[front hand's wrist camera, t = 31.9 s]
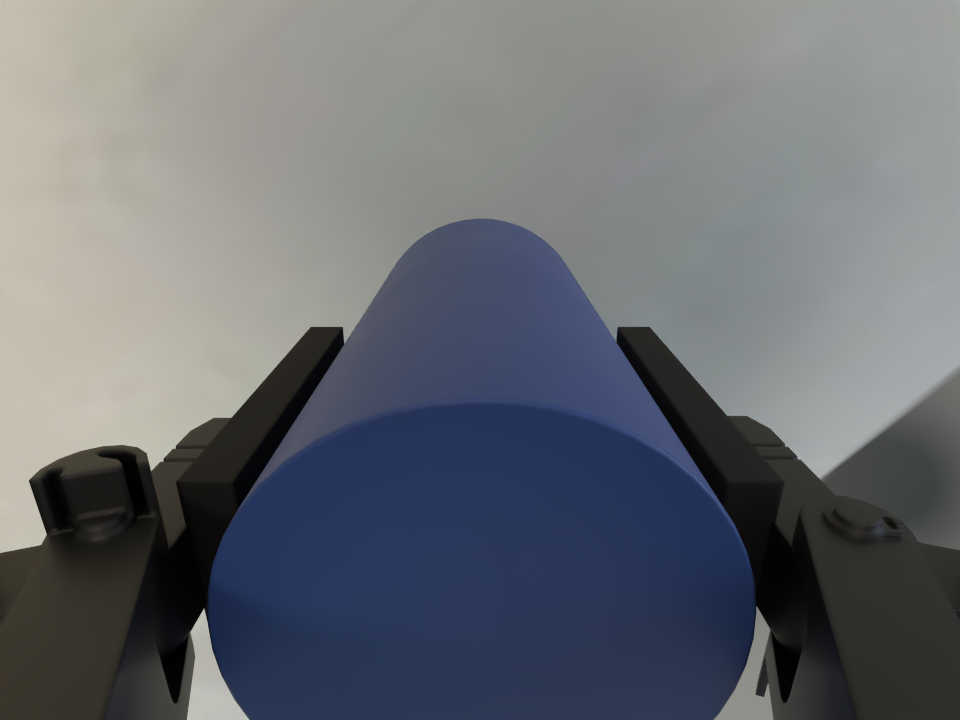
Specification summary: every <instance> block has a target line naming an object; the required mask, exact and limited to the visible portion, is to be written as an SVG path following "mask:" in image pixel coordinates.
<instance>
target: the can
mask: <svg viewBox="0 0 960 720" xmlns="http://www.w3.org/2000/svg"><path fill="white" fill-rule="evenodd" d="M755 619H756V599H755V584H754V578H753V574H752V570H751V566H750V562H749V558H748V554H747V551H746V549H745V547H744V544H743V542H742V540H741V538H740V535H739V533H738V531H737V529H736V526H735V524H734V523H733V521H732V520H731V518H730V517H729V515H728V514H727V512H726V510H725V509H724V507H723V506H722V504H721V503H720V501H719V500H718V498H717V497H716V495H715V494H714V492H713V490H712V489H711V487H710V486H709V484H708V483H707V481H706V480H705V478H704V477H703V475H702V473H701V472H700V470H699V469H698V467H697V466H696V464H695V463H694V461H693V460H692V458H691V457H690V455H689V453H688V452H687V450H686V449H685V447H684V446H683V444H682V443H681V441H680V440H679V438H678V437H677V435H676V433H675V432H674V430H673V429H672V427H671V426H670V424H669V423H668V421H667V420H666V418H665V416H664V415H663V413H662V412H661V410H660V409H659V407H658V406H657V404H656V403H655V401H654V400H653V398H652V396H651V395H650V393H649V392H648V390H647V389H646V387H645V386H644V384H643V383H642V381H641V380H640V378H639V376H638V375H637V373H636V372H635V370H634V369H633V367H632V366H631V364H630V363H629V361H628V360H627V358H626V356H625V355H624V353H623V352H622V350H621V349H620V347H619V346H618V344H617V343H616V341H615V339H614V338H613V336H612V335H611V333H610V332H609V330H608V329H607V327H606V326H605V324H604V323H603V321H602V319H601V318H600V316H599V315H598V313H597V312H596V310H595V309H594V307H593V306H592V304H591V303H590V301H589V299H588V298H587V296H586V295H585V293H584V292H583V290H582V289H581V287H580V286H579V284H578V283H577V281H576V279H575V278H574V276H573V275H572V273H571V272H570V270H569V269H568V267H567V266H566V264H565V263H564V261H563V260H562V258H561V257H560V256H559V255H558V253H557V252H556V251H555V250H554V249H553V248H552V247H551V246H550V245H549V244H548V243H546V242H545V241H544V240H543V239H541V238H540V237H538V236H537V235H535V234H534V233H532V232H531V231H528V230H526V229H524V228H522V227H520V226H517V225H514V224H511V223H508V222H504V221H498V220H492V219H471V220H463V221H459V222H454V223H450V224H448V225H445V226H442V227H440V228H437V229H435V230H434V231H432V232H430V233H428V234H426V235H425V236H423V237H422V238H421V239H419V240H418V241H417V242H415V243H414V244H413V245H412V246H411V247H410V248H409V249H408V250H407V251H406V252H405V253H404V254H403V256H402V257H401V258H400V260H399V261H398V262H397V264H396V265H395V267H394V268H393V270H392V271H391V273H390V274H389V276H388V278H387V279H386V281H385V282H384V284H383V285H382V287H381V288H380V290H379V292H378V293H377V295H376V296H375V298H374V299H373V301H372V302H371V304H370V306H369V307H368V309H367V310H366V312H365V313H364V315H363V316H362V318H361V319H360V321H359V323H358V324H357V326H356V327H355V329H354V330H353V332H352V333H351V335H350V337H349V338H348V340H347V341H346V343H345V344H344V346H343V347H342V349H341V350H340V352H339V354H338V355H337V357H336V358H335V360H334V361H333V363H332V364H331V366H330V368H329V369H328V371H327V372H326V374H325V375H324V377H323V378H322V380H321V381H320V383H319V385H318V386H317V388H316V389H315V391H314V392H313V394H312V395H311V397H310V399H309V400H308V402H307V403H306V405H305V406H304V408H303V409H302V411H301V413H300V414H299V416H298V417H297V419H296V420H295V422H294V423H293V425H292V426H291V428H290V430H289V431H288V433H287V434H286V436H285V437H284V439H283V440H282V442H281V444H280V445H279V447H278V448H277V450H276V451H275V453H274V454H273V456H272V457H271V459H270V461H269V462H268V464H267V465H266V467H265V468H264V470H263V471H262V473H261V475H260V476H259V478H258V479H257V481H256V482H255V484H254V485H253V487H252V489H251V490H250V492H249V493H248V495H247V496H246V498H245V499H244V501H243V502H242V504H241V506H240V507H239V509H238V510H237V512H236V514H235V516H234V517H233V519H232V521H231V523H230V524H229V526H228V528H227V530H226V532H225V533H224V535H223V537H222V540H221V542H220V545H219V548H218V551H217V554H216V556H215V559H214V562H213V565H212V571H211V577H210V582H209V588H208V627H209V633H210V638H211V644H212V650H213V653H214V655H215V658H216V661H217V664H218V667H219V670H220V672H221V675H222V677H223V679H224V681H225V683H226V685H227V686H228V688H229V690H230V692H231V694H232V696H233V698H234V699H235V701H236V702H237V704H238V705H239V706H240V708H241V709H242V710H243V712H244V713H245V714H246V716H247V717H248V718H249V720H714V719H715V718H716V716H717V715H718V714H719V713H720V711H721V710H722V708H723V707H724V705H725V704H726V702H727V701H728V699H729V698H730V696H731V695H732V693H733V691H734V690H735V688H736V686H737V683H738V681H739V679H740V677H741V675H742V673H743V670H744V668H745V666H746V663H747V660H748V656H749V653H750V649H751V646H752V642H753V638H754V628H755Z"/></svg>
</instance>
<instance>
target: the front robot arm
mask: <svg viewBox="0 0 960 720" xmlns="http://www.w3.org/2000/svg"><path fill="white" fill-rule="evenodd" d="M616 343H617V344H618V346H619V347H620V349H621V350H622V352H623V353H624V355H625V356H626V358H627V360H628V361H629V363H630V364H631V366H632V367H633V369H634V370H635V372H636V373H637V375H638V376H639V378H640V380H641V381H642V383H643V384H644V386H645V387H646V389H647V390H648V392H649V393H650V395H651V396H652V398H653V400H654V401H655V403H656V404H657V406H658V407H659V409H660V410H661V412H662V413H663V415H664V416H665V418H666V420H667V421H668V423H669V424H670V426H671V427H672V429H673V430H674V432H675V433H676V435H677V437H678V438H679V440H680V441H681V443H682V444H683V446H684V447H685V449H686V450H687V452H688V453H689V455H690V457H691V458H692V460H693V461H694V463H695V464H696V466H697V467H698V469H699V470H700V472H701V473H702V475H703V477H704V478H705V480H706V481H707V483H708V484H709V486H710V487H711V489H712V490H713V492H714V494H715V495H716V497H717V498H718V500H719V501H720V503H721V504H722V506H723V507H724V509H725V510H726V512H727V514H728V515H729V517H730V518H731V520H732V521H733V523H734V524H735V526H736V529H737V531H738V533H739V535H740V538H741V540H742V542H743V544H744V547H745V549H746V551H747V554H748V558H749V562H750V566H751V570H752V574H753V578H754V584H755V599H756V606H757V607H758V609H759V610H760V612H761V614H762V616H763V617H764V619H765V621H766V622H767V624H768V626H769V628H770V633H769V638H768V642H767V646H766V650H765V654H764V658H763V662H762V666H761V670H760V674H759V678H758V683H757V689H756V695H759V696H762V697H764V695H765V691H766V687H767V684H768V683H769V689H770V697H771V704H772V712H773V719H774V720H960V550H955V549H950V548H944V547H939V546H934V545H929V544H924V543H920V542H917V540H916V538H915V536H914V535H913V533H912V532H911V531H910V530H909V529H908V527H907V526H906V525H905V524H904V523H903V522H902V521H901V520H899V519H898V518H896V517H895V516H893V515H892V514H890V513H889V512H887V511H886V510H884V509H881V508H879V507H877V506H874V505H872V504H870V503H867V502H865V501H861V500H857V499H853V498H850V497H846V496H837V495H835V494H834V493H833V492H832V491H831V490H830V489H829V488H828V487H827V486H826V485H825V484H824V483H823V482H822V481H821V480H820V479H819V478H818V477H817V476H816V475H815V474H814V473H813V472H812V471H811V470H810V469H809V468H808V467H807V466H806V465H805V464H804V463H803V462H802V461H801V460H798V459H797V456H796V455H795V454H794V453H793V452H792V451H791V450H790V449H789V448H788V447H785V443H784V442H783V441H782V440H781V439H780V438H779V437H778V436H777V435H776V434H775V433H774V432H773V431H772V430H771V429H769V428H768V427H766V426H764V425H762V424H760V423H759V422H757V421H755V420H753V419H751V418H749V417H748V416H727V415H726V414H725V413H724V412H723V411H722V409H721V408H720V407H719V406H718V405H717V404H716V403H715V401H714V400H713V399H712V398H711V397H710V396H709V395H708V393H707V392H706V391H705V390H704V389H703V388H702V387H701V385H700V384H699V383H698V382H697V381H696V380H695V379H694V377H693V376H692V375H691V374H690V373H689V372H688V371H687V369H686V368H685V367H684V366H683V365H682V364H681V363H680V361H679V360H678V359H677V358H676V357H675V356H674V355H673V353H672V352H671V351H670V350H669V349H668V348H667V346H666V345H665V344H664V343H663V342H662V341H661V340H660V338H659V337H658V336H657V335H656V334H655V333H654V332H653V330H652V329H651V328H650V327H618V330H617V341H616ZM343 346H344V336H343V327H311V328H310V329H309V330H308V331H307V332H306V333H305V334H304V336H303V337H302V338H301V339H300V340H299V341H298V342H297V344H296V345H295V346H294V347H293V348H292V349H291V350H290V352H289V353H288V354H287V355H286V356H285V357H284V358H283V360H282V361H281V362H280V363H279V364H278V365H277V367H276V368H275V369H274V370H273V371H272V372H271V373H270V375H269V376H268V377H267V378H266V379H265V380H264V381H263V383H262V384H261V385H260V386H259V387H258V388H257V389H256V391H255V392H254V393H253V394H252V395H251V396H250V397H249V399H248V400H247V401H246V402H245V403H244V404H243V405H242V407H241V408H240V409H239V410H238V411H237V412H236V413H235V415H234V416H233V417H232V418H213V419H211V420H209V421H208V422H206V423H204V424H202V425H200V426H199V427H197V428H195V429H193V430H191V431H190V432H189V433H188V434H187V435H186V436H185V437H184V438H183V439H182V440H181V441H180V442H179V443H178V444H177V445H176V449H173V450H172V451H171V452H170V453H169V454H168V455H167V456H166V457H165V458H164V461H163V462H160V463H159V464H158V465H157V466H156V467H155V468H154V469H153V470H152V471H151V470H150V465H149V461H148V457H147V453H145V452H144V451H142V450H141V449H139V448H138V447H131V446H125V445H117V446H102V447H98V448H93V449H89V450H84V451H80V452H77V453H74V454H72V455H69V456H66V457H63V458H61V459H58V460H56V461H55V462H53V463H51V464H49V465H48V466H46V467H44V468H42V469H40V470H39V471H38V472H37V473H36V474H35V475H34V476H33V477H32V478H31V479H30V480H29V483H30V486H31V489H32V491H33V494H34V497H35V500H36V503H37V506H38V509H39V512H40V515H41V518H42V521H43V524H44V527H45V530H46V533H47V536H46V537H45V539H44V541H43V543H42V545H40V546H35V547H30V548H25V549H19V550H14V551H9V552H4V553H0V720H187V713H188V706H189V698H190V691H191V683H192V676H193V669H194V661H195V653H194V646H193V642H192V637H191V633H190V631H191V630H192V628H193V626H194V625H195V623H196V621H197V619H198V618H199V616H200V614H201V613H202V611H203V609H204V608H205V613H206V617H207V622H208V588H209V582H210V577H211V571H212V565H213V562H214V559H215V556H216V554H217V551H218V548H219V545H220V542H221V540H222V537H223V535H224V533H225V532H226V530H227V528H228V526H229V524H230V523H231V521H232V519H233V517H234V516H235V514H236V512H237V510H238V509H239V507H240V506H241V504H242V502H243V501H244V499H245V498H246V496H247V495H248V493H249V492H250V490H251V489H252V487H253V485H254V484H255V482H256V481H257V479H258V478H259V476H260V475H261V473H262V471H263V470H264V468H265V467H266V465H267V464H268V462H269V461H270V459H271V457H272V456H273V454H274V453H275V451H276V450H277V448H278V447H279V445H280V444H281V442H282V440H283V439H284V437H285V436H286V434H287V433H288V431H289V430H290V428H291V426H292V425H293V423H294V422H295V420H296V419H297V417H298V416H299V414H300V413H301V411H302V409H303V408H304V406H305V405H306V403H307V402H308V400H309V399H310V397H311V395H312V394H313V392H314V391H315V389H316V388H317V386H318V385H319V383H320V381H321V380H322V378H323V377H324V375H325V374H326V372H327V371H328V369H329V368H330V366H331V364H332V363H333V361H334V360H335V358H336V357H337V355H338V354H339V352H340V350H341V349H342V347H343Z"/></svg>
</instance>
